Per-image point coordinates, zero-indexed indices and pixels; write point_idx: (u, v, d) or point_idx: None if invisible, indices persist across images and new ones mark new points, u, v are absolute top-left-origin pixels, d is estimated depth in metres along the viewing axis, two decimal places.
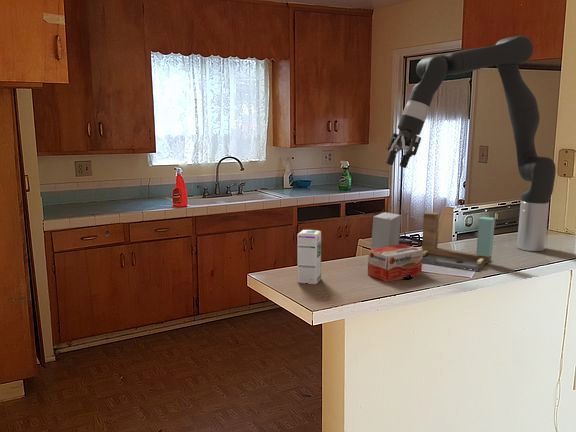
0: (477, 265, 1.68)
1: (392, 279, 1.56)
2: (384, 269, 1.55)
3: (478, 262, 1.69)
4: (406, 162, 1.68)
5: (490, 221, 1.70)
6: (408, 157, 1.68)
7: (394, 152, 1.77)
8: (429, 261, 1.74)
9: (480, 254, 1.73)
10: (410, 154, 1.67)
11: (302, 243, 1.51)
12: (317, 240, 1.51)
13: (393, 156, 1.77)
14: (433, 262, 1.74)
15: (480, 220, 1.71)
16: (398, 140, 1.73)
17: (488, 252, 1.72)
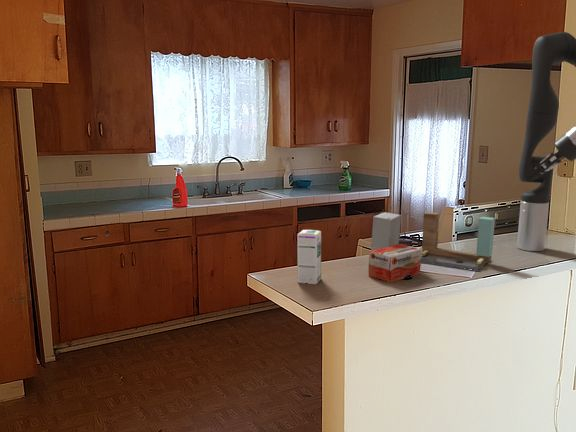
0: (477, 265, 1.68)
1: (394, 279, 1.56)
2: (387, 270, 1.54)
3: (478, 262, 1.69)
4: None
5: (490, 221, 1.70)
6: None
7: None
8: (429, 261, 1.74)
9: (480, 254, 1.73)
10: None
11: (302, 243, 1.51)
12: (317, 240, 1.51)
13: None
14: (433, 262, 1.74)
15: (480, 220, 1.71)
16: None
17: (488, 252, 1.72)
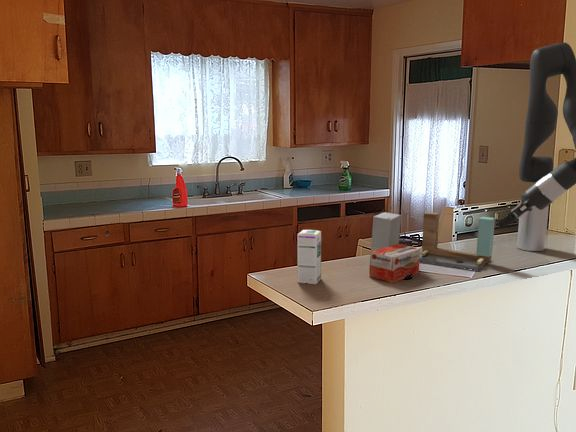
0: (477, 265, 1.68)
1: (396, 280, 1.55)
2: (389, 270, 1.54)
3: (478, 262, 1.69)
4: None
5: (490, 221, 1.70)
6: None
7: None
8: (429, 261, 1.74)
9: (480, 254, 1.73)
10: None
11: (302, 243, 1.51)
12: (317, 240, 1.51)
13: None
14: (433, 262, 1.74)
15: (480, 220, 1.71)
16: None
17: (488, 252, 1.72)
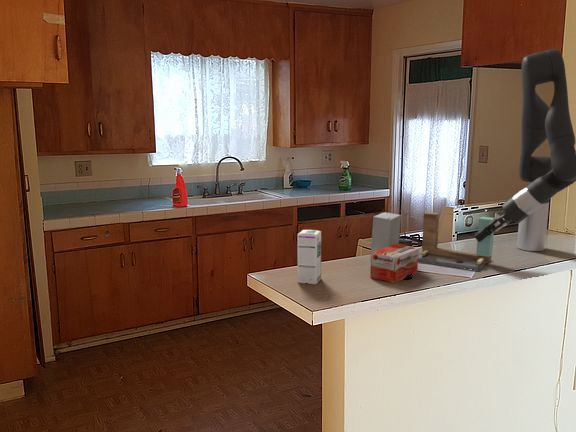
0: (477, 265, 1.68)
1: (398, 280, 1.55)
2: (391, 270, 1.53)
3: (478, 262, 1.69)
4: None
5: (490, 221, 1.70)
6: None
7: None
8: (429, 261, 1.74)
9: (480, 254, 1.73)
10: None
11: (302, 243, 1.51)
12: (317, 240, 1.51)
13: None
14: (433, 262, 1.74)
15: (480, 220, 1.71)
16: None
17: (488, 252, 1.72)
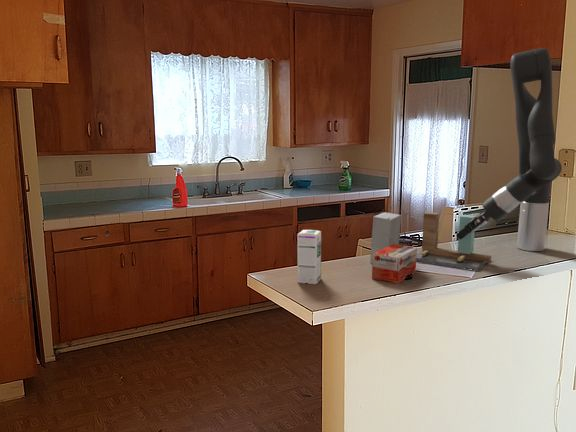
0: (477, 265, 1.68)
1: (400, 280, 1.55)
2: (394, 271, 1.53)
3: (459, 259, 1.72)
4: None
5: (471, 219, 1.73)
6: None
7: None
8: (429, 261, 1.74)
9: (461, 251, 1.76)
10: None
11: (302, 243, 1.51)
12: (317, 240, 1.51)
13: None
14: (433, 262, 1.74)
15: (461, 218, 1.75)
16: None
17: (469, 249, 1.75)
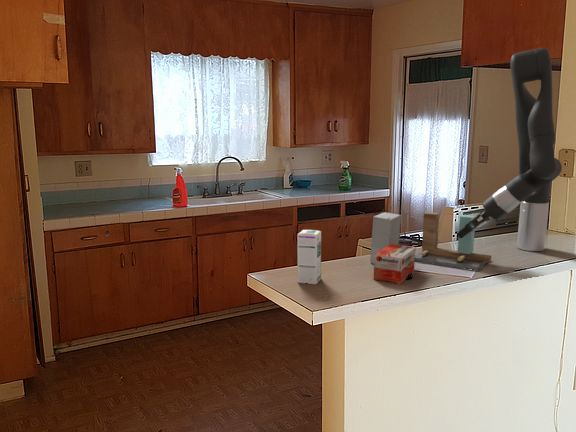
0: (477, 265, 1.68)
1: (402, 280, 1.55)
2: (397, 271, 1.53)
3: (459, 259, 1.72)
4: None
5: None
6: None
7: None
8: (429, 261, 1.74)
9: (461, 251, 1.76)
10: None
11: (302, 243, 1.51)
12: (317, 240, 1.51)
13: None
14: (433, 262, 1.74)
15: (461, 218, 1.75)
16: None
17: (469, 249, 1.75)
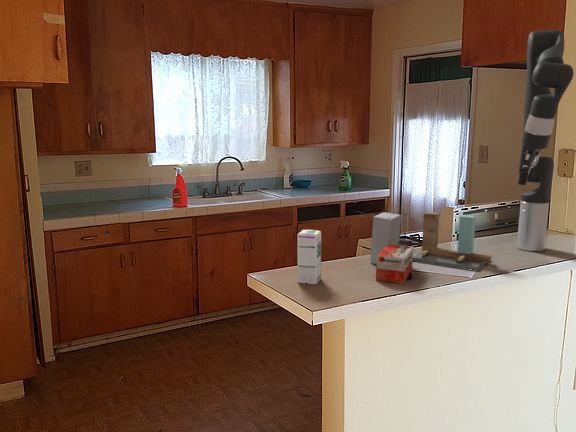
0: (477, 265, 1.68)
1: (404, 280, 1.55)
2: (400, 271, 1.52)
3: (459, 259, 1.72)
4: None
5: (471, 219, 1.73)
6: None
7: None
8: (429, 261, 1.74)
9: (461, 251, 1.76)
10: None
11: (302, 243, 1.51)
12: (317, 240, 1.51)
13: None
14: (433, 262, 1.74)
15: (461, 218, 1.75)
16: None
17: (469, 249, 1.75)
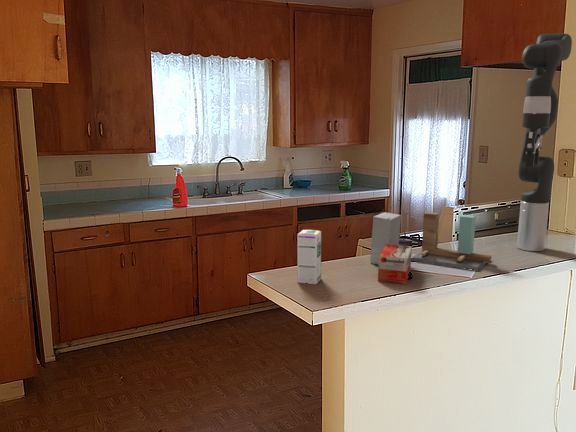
0: (477, 265, 1.68)
1: (406, 280, 1.55)
2: (403, 271, 1.52)
3: (459, 259, 1.72)
4: None
5: (471, 219, 1.73)
6: None
7: None
8: (429, 261, 1.74)
9: (461, 251, 1.76)
10: None
11: (302, 243, 1.51)
12: (317, 240, 1.51)
13: None
14: (433, 262, 1.74)
15: (461, 218, 1.75)
16: None
17: (469, 249, 1.75)
